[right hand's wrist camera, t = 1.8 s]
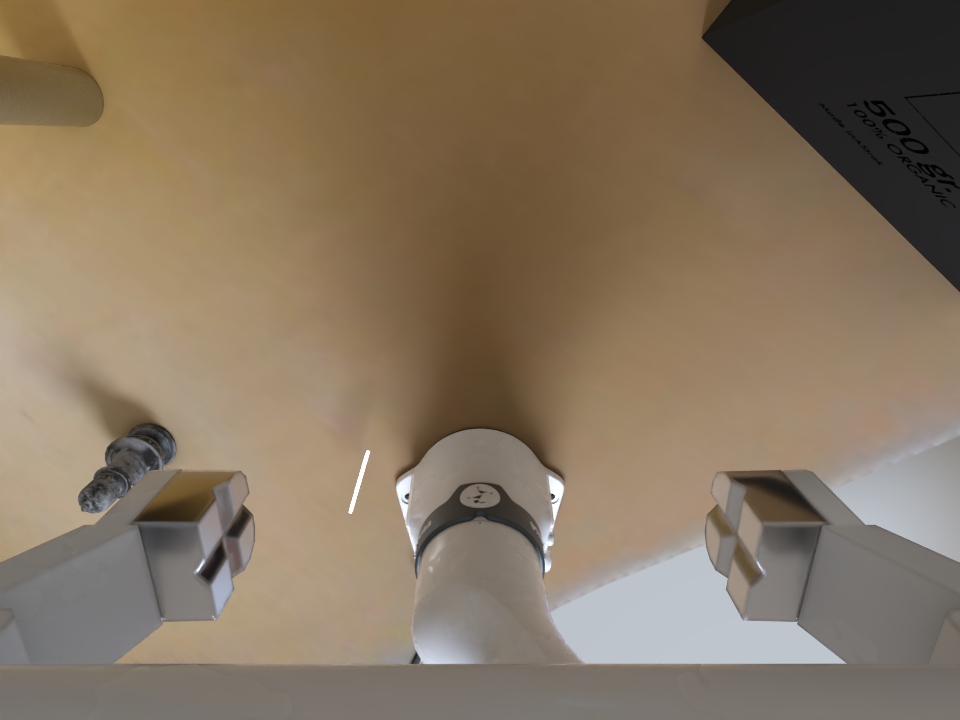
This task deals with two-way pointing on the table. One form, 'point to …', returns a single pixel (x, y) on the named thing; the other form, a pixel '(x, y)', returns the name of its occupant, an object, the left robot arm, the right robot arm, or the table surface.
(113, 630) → the right robot arm
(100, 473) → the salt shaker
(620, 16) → the table surface
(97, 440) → the table surface
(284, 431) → the table surface
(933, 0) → the black box
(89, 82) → the bottle
